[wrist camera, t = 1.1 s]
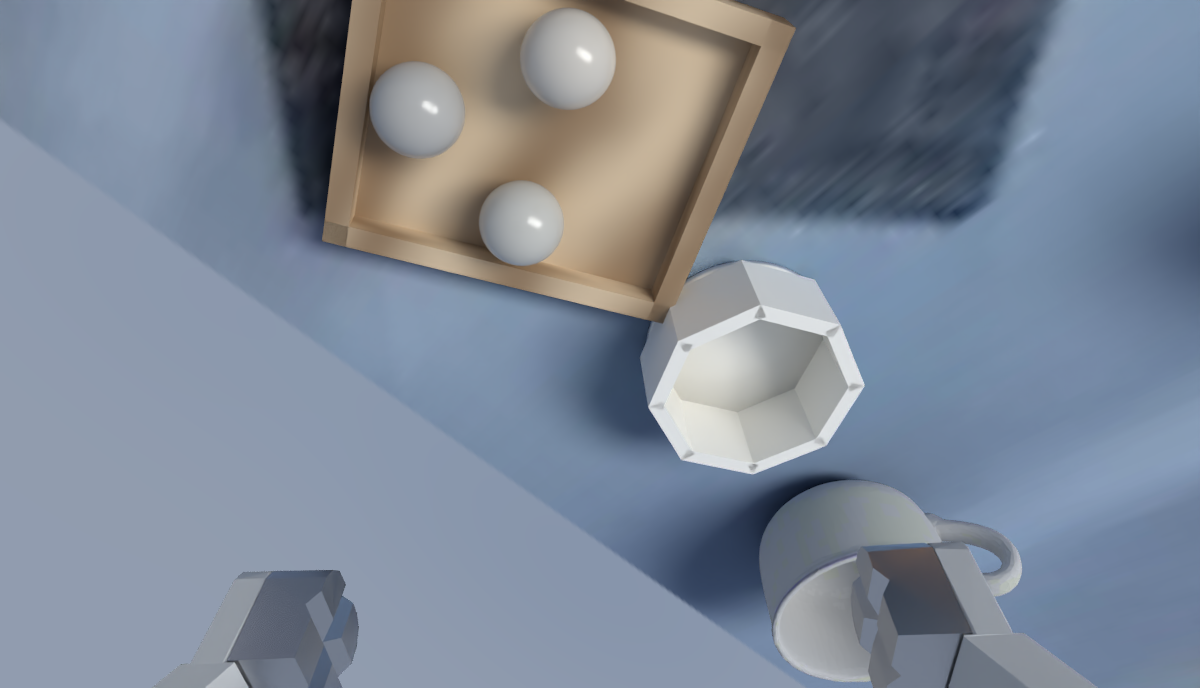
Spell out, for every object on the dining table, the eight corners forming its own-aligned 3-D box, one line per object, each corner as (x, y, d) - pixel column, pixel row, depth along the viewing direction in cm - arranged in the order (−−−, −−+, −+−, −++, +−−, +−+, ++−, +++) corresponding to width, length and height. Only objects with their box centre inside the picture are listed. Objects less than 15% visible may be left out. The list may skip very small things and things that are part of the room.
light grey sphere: (474, 230, 34) (466, 269, 31) (492, 157, 32) (486, 191, 29) (551, 250, 35) (551, 290, 32) (573, 179, 33) (575, 215, 30)
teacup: (746, 581, 50) (776, 695, 44) (740, 465, 44) (773, 578, 38) (956, 552, 50) (1017, 663, 43) (979, 431, 44) (1055, 539, 37)
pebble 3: (511, 79, 30) (507, 107, 27) (535, -15, 28) (533, 5, 25) (597, 104, 31) (601, 134, 28) (624, 15, 29) (633, 38, 26)
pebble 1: (372, 126, 31) (354, 158, 28) (386, 38, 29) (367, 63, 26) (459, 150, 32) (449, 183, 29) (478, 66, 30) (469, 93, 27)
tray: (332, 222, 34) (322, 241, 33) (377, -125, 27) (367, -121, 25) (662, 304, 38) (666, 324, 36) (783, 17, 30) (796, 27, 29)
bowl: (621, 390, 41) (629, 449, 37) (685, 239, 36) (701, 289, 32) (779, 425, 43) (801, 484, 39) (860, 286, 38) (894, 339, 34)
